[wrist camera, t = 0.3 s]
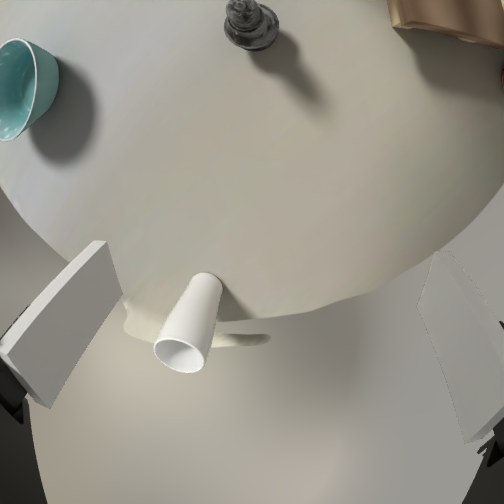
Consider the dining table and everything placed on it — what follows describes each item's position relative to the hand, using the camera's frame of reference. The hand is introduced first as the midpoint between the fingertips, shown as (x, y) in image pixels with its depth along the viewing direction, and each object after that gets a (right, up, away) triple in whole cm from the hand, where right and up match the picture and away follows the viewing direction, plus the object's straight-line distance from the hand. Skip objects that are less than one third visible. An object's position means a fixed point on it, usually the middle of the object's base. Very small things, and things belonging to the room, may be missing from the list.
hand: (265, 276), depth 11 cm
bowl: (-34, +28, +21) cm, 48 cm away
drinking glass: (-8, -4, +35) cm, 36 cm away
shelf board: (+22, +28, +7) cm, 36 cm away
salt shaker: (0, +27, +16) cm, 31 cm away
